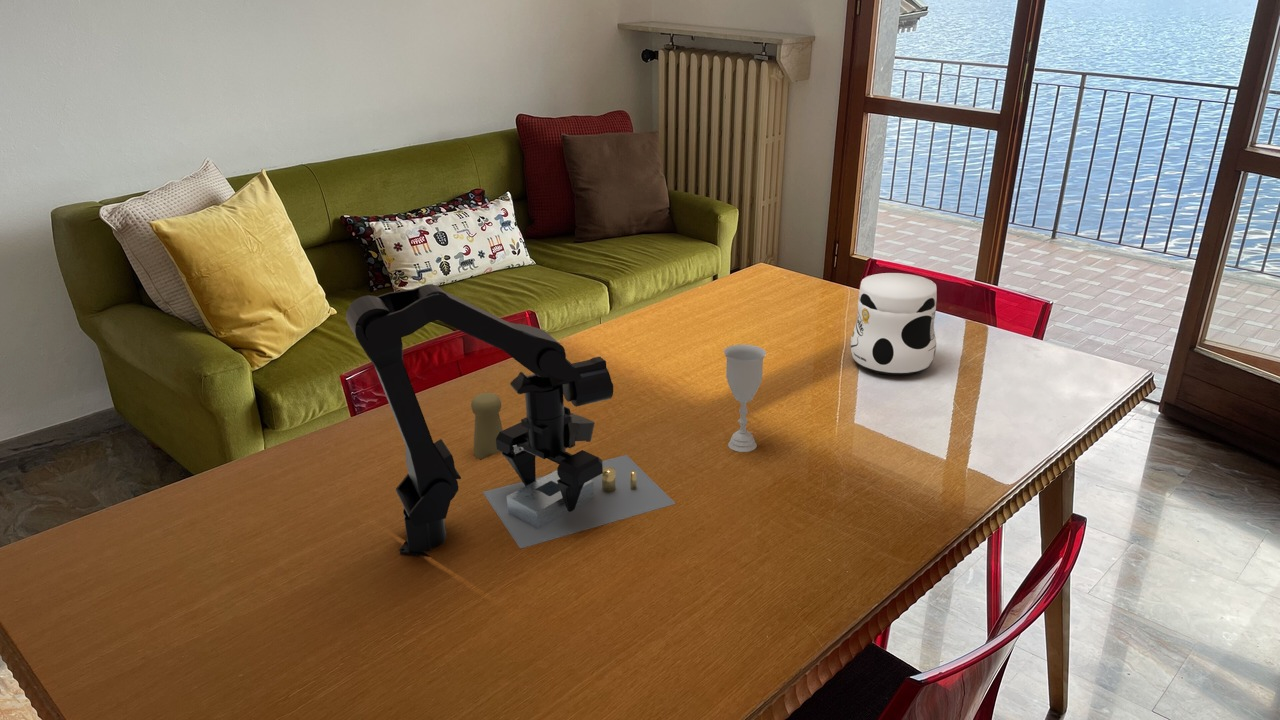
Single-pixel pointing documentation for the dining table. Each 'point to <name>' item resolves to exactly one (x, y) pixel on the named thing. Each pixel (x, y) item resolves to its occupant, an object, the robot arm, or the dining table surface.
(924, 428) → the dining table surface
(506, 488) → the mount board
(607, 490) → the pair of brass cylinders
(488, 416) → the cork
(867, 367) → the milk container
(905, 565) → the dining table surface
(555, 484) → the silver rectangular block
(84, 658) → the dining table surface
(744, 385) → the chalice
